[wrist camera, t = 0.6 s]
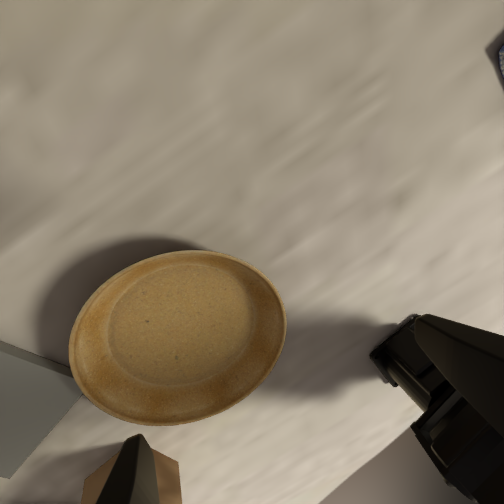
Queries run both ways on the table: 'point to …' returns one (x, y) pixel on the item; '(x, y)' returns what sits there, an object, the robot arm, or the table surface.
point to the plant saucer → (177, 338)
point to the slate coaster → (30, 403)
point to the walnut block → (164, 471)
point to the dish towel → (501, 60)
